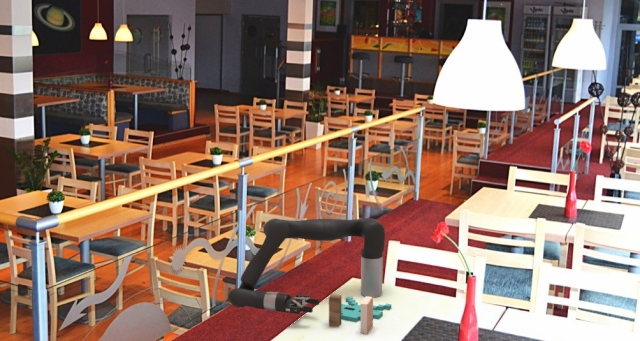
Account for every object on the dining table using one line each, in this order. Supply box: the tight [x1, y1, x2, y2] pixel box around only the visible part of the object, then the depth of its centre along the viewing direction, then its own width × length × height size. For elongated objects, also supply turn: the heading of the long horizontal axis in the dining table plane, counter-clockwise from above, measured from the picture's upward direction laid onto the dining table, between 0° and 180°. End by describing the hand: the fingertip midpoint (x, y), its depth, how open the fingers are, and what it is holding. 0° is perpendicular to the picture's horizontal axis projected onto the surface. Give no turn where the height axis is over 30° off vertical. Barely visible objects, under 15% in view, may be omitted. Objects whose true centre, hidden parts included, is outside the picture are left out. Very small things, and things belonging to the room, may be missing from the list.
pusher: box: [328, 293, 343, 328], centre depth 324 cm, size 4×4×12 cm
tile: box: [360, 296, 374, 335], centre depth 319 cm, size 8×3×12 cm, turn 163°
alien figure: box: [341, 296, 392, 323], centre depth 337 cm, size 20×2×20 cm
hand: (315, 305), depth 326 cm, fingers open, 8 cm apart
